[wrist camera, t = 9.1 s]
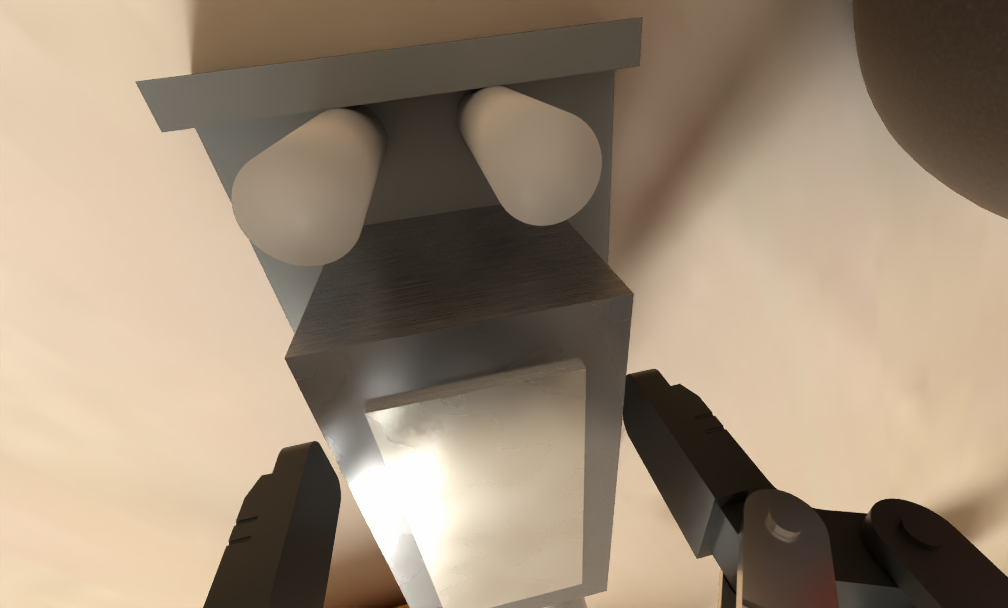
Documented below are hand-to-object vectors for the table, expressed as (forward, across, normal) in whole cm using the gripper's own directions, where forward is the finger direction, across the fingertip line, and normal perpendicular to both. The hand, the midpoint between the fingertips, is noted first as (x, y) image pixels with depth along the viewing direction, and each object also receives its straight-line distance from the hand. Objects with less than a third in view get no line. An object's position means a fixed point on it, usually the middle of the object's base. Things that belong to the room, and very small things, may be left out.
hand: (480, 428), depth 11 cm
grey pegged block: (+3, 0, 0) cm, 3 cm away
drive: (+3, 0, 0) cm, 3 cm away
